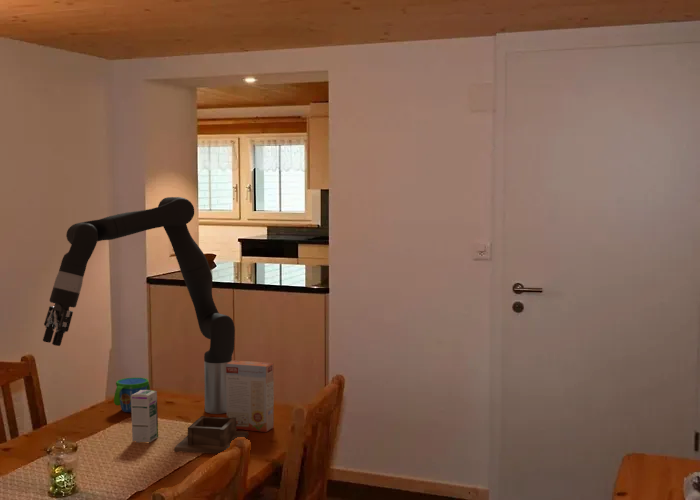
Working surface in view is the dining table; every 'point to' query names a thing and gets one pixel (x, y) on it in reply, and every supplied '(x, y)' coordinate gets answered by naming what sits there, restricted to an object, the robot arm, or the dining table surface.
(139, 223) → the robot arm
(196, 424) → the socket holder
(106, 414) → the dining table surface
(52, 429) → the dining table surface
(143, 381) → the snack cup
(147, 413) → the syrup box
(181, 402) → the dining table surface
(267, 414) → the cracker box
